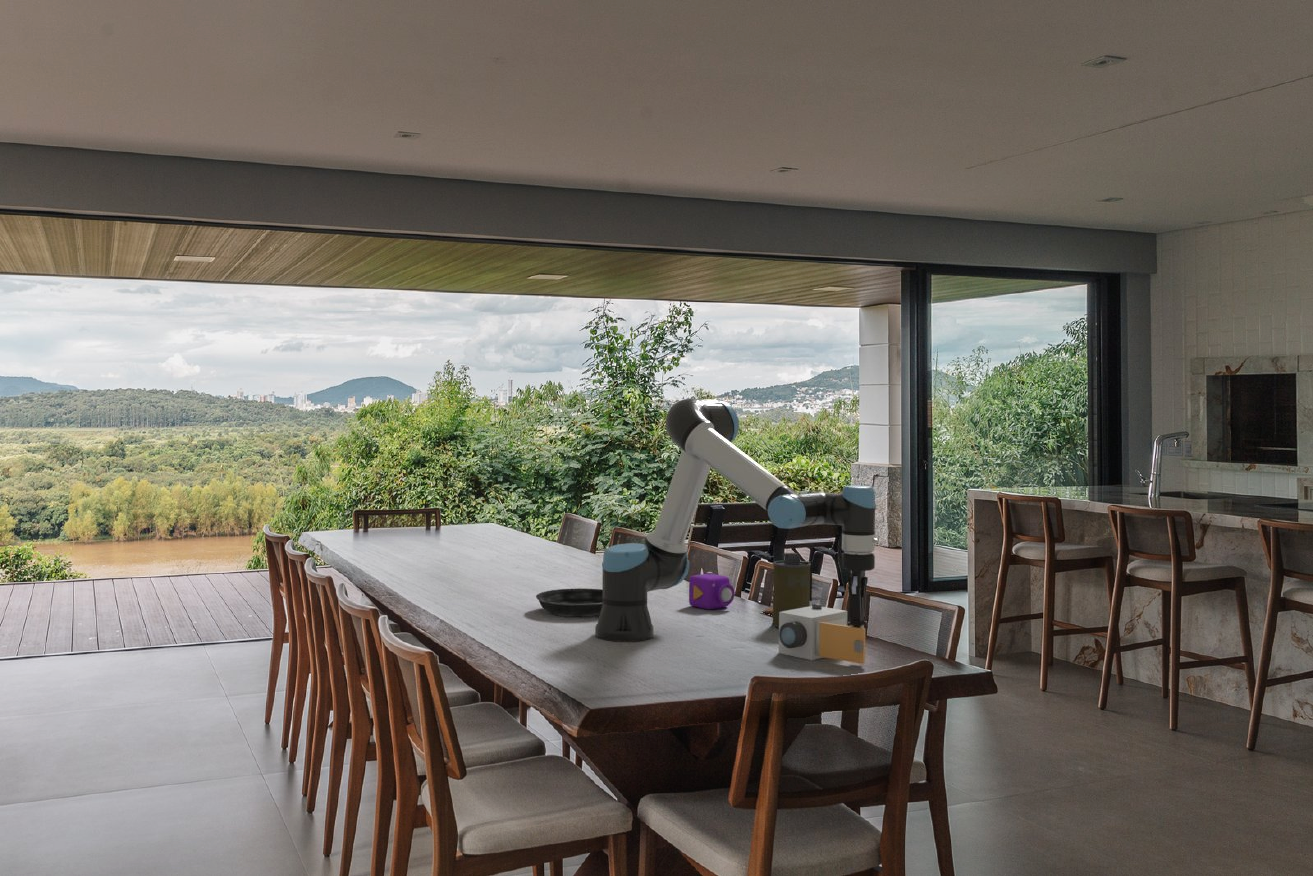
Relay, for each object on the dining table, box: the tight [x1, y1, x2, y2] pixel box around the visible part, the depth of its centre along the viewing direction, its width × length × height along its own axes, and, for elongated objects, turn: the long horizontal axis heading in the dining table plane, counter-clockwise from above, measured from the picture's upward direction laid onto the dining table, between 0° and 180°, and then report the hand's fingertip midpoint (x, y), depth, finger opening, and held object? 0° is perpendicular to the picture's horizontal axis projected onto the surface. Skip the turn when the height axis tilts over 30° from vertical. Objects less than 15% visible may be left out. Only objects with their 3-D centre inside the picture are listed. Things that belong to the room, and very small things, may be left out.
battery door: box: [816, 621, 866, 665], centre depth 248 cm, size 13×2×8 cm, turn 51°
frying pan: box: [535, 588, 602, 618], centre depth 316 cm, size 44×25×7 cm, turn 137°
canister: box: [771, 552, 813, 629], centre depth 293 cm, size 11×10×20 cm
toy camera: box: [688, 571, 735, 610], centre depth 319 cm, size 11×14×10 cm
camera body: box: [778, 603, 848, 661], centre depth 259 cm, size 17×10×11 cm, turn 134°
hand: (857, 652), depth 250 cm, fingers closed
